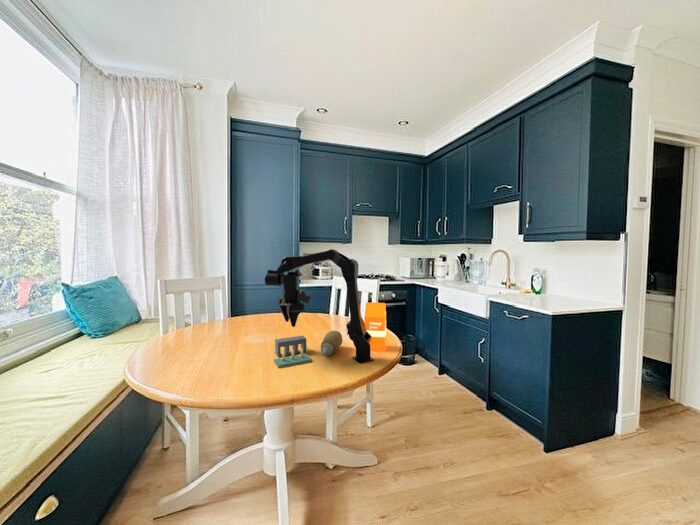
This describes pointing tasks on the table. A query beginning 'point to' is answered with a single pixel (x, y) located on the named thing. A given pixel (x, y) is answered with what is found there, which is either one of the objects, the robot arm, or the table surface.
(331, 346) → the squeeze bottle
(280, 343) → the block
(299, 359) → the strip
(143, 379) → the table surface
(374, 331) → the orange juice
